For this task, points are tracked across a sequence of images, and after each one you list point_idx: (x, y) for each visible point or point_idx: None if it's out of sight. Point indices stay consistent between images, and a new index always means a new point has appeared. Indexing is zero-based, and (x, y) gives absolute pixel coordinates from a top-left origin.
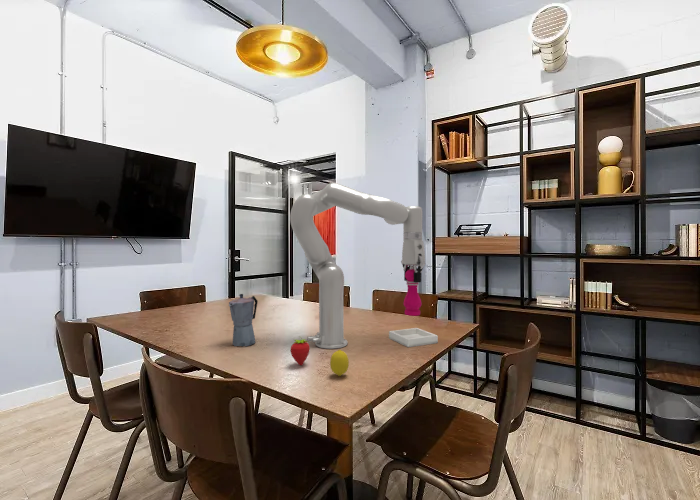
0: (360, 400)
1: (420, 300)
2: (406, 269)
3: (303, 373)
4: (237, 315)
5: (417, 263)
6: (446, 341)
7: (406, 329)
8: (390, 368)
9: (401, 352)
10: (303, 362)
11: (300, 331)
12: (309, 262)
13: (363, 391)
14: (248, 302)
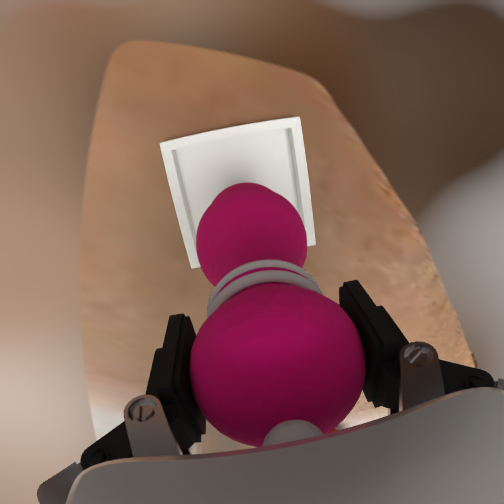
0: (463, 364)
1: (291, 212)
2: (187, 446)
3: (362, 421)
4: None
5: (281, 458)
6: (283, 76)
7: (177, 196)
8: (415, 318)
9: (343, 268)
10: (335, 429)
11: (105, 418)
12: None
13: (451, 361)
14: None
